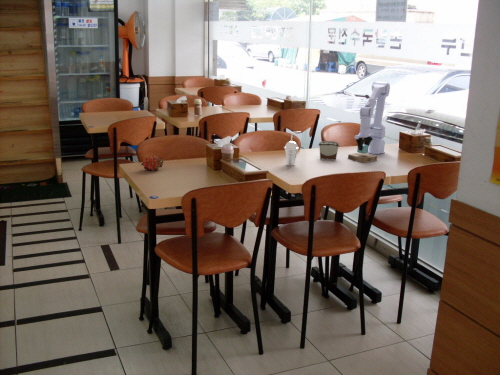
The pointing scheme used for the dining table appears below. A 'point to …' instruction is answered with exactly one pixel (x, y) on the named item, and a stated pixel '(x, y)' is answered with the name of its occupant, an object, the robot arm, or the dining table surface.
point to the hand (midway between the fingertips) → (363, 149)
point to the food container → (328, 150)
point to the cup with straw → (291, 151)
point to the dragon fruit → (152, 163)
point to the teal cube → (363, 149)
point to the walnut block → (362, 157)
